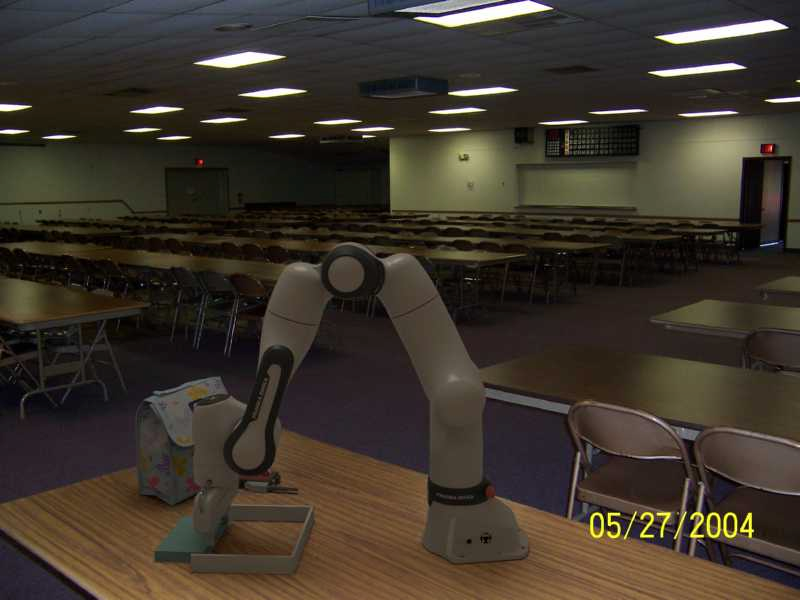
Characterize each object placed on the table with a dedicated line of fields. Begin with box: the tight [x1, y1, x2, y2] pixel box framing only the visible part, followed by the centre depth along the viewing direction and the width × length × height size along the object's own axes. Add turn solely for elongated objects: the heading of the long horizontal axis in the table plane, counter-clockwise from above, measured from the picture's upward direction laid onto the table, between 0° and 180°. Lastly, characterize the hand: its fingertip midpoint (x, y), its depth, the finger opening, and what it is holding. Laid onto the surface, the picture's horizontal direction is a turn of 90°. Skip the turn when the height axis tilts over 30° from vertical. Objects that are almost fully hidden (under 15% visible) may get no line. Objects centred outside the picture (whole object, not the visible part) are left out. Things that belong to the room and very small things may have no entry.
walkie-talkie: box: [238, 467, 299, 494], centre depth 182 cm, size 9×4×20 cm
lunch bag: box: [134, 376, 229, 506], centre depth 179 cm, size 22×17×26 cm
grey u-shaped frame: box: [190, 503, 315, 575], centre depth 151 cm, size 20×23×4 cm
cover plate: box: [153, 515, 228, 563], centre depth 152 cm, size 10×16×3 cm, turn 177°
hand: (218, 533), depth 151 cm, fingers open, 8 cm apart
